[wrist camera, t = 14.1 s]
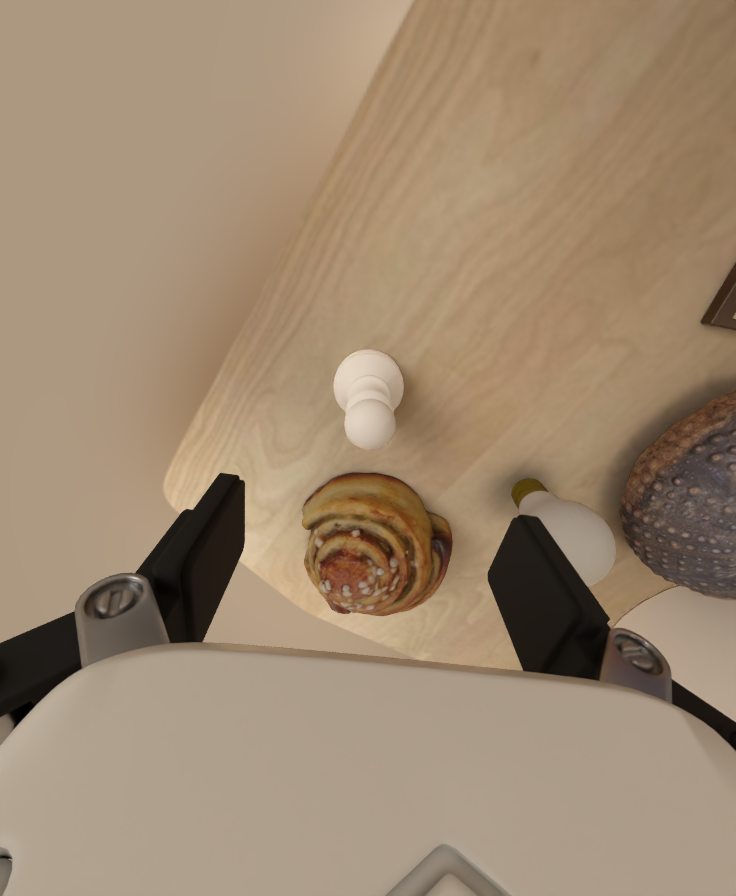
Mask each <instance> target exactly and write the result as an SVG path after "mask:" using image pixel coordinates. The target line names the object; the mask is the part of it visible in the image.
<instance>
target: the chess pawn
mask: <svg viewBox="0 0 736 896" xmlns="http://www.w3.org/2000/svg"><path fill="white" fill-rule="evenodd" d="M333 390H334V395H335V399H336V401H337V403H338V405H339V406H340V408H341V409H342V410H343V411H344V412H345V414H346V417H345V423H344V427H345V432H346V435H347V437H348V438H349V440H350V441H351V442H352V443H353V444H354V445H355V446H357V447H359V448H361V449H364V450H376V449H379V448H381V447H383V446H385V445H386V444H387V443H388V442H389V441H390V440H391V439H392V437H393V434H394V432H395V427H396V423H395V417H394V410H395V409H396V408H397V406H398V405H399V403H400V401H401V399H402V397H403V391H404V383H403V377H402V374H401V372H400V369H399V367H398V365H397V364H396V363H395V361H394V360H393V359H392V358H391V357H390V356H388V355H387V354H386V353H383V352H381V351H378V350H372V349H365V350H359V351H356V352H354V353H352V354H350V355H349V356H348V357H346V358H345V359H344V360H343V361H342V363H341V364H340V366H339V367H338V370H337V373H336V375H335V379H334V389H333Z"/></svg>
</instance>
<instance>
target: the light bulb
mask: <svg viewBox="0 0 736 896" xmlns="http://www.w3.org/2000/svg"><path fill="white" fill-rule="evenodd" d="M511 496H512V498H513V500H514V502H515V504H516V506H517V507H518V509H519V515H521V514H523V515H530V516H536V517H538V518H539V519H540V520H541V521H542V523H543V524H544V526H545V527H546V528H547V530H548V531H549V533H550V534H551V536H552V537H553V538H554V540H555V541H556V543H557V544H558V546H559V547H560V548H561V550H562V551H563V553H564V554H565V556H566V557H567V558H568V560H569V561H570V563H571V564H572V566H573V567H574V568H575V570H576V571H577V573H578V574H579V576H580V577H581V578H582V580H583V581H584V583H585V584H586V586H587V587H588V586H591V585H594V584H596V583H598V582H599V581H601V580H602V579H603V578H604V577H605V576H606V575H607V574H608V573H609V572H610V570H611V569H612V567H613V564H614V562H615V557H616V544H615V540H614V536H613V534H612V532H611V530H610V528H609V526H608V525H607V523H606V522H605V521H604V520H603V519H602V518H601V517H600V516H599V515H598V514H597V513H596V512H594V511H593V510H591V509H590V508H588V507H586V506H584V505H582V504H580V503H576V502H573V501H568V500H562V499H560V498H558V497H557V496H555V495H554V494H552V493H550V492H549V491H547V489H546V488H545V487H544V486H543V485H542V484H541V483H540V482H539V481H538V480H536V479H531V478H528V479H524V480H521V481H519V482H518V483H517V484H515V486H514V487H513V489H512V492H511Z"/></svg>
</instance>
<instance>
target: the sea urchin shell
mask: <svg viewBox="0 0 736 896" xmlns="http://www.w3.org/2000/svg"><path fill="white" fill-rule="evenodd" d="M621 497H622V501H621V502H620V510H619V511H620V516H621V518H622V527H623V530H624V532H625V538H626V541H627V542H628V543H629V546H630V547H631V548H632V549H633V550H634V553H635V555H637V556H638V557H639V558H640V559H641V561H642V562H643V563H644V564H645V565H646V566H648V567H649V568H651V570H652V571H653V572H654V574H656V575H660V576H662V577H663V578H664V579H665V580H666V581H670V582H674V583H676V584H679V585H680V586H681V587H687V588H689V589H690V590H692V591H695V592H699V593H701V594H703V595H704V596H707V597H712V598H717V599H722V600H736V390H735V391H734V392H733V393H731V394H727V395H725V396H723V397H719V398H715V399H713V400H711V401H710V402H709V403H708V404H707V405H706V406H704V407H703V408H702V409H700V410H698V411H697V412H695V413H693V414H691V415H689V416H687V417H685V418H683V419H681V420H680V421H679V422H677V423H675V424H673V425H672V426H671V427H670V428H669V429H668V430H667V431H666V432H665V433H664V434H663V435H661V437H660V438H659V439H658V440H657V441H655V442H654V443H653V444H652V445H651V446H649V447H648V448H647V449H646V450H644V451H643V453H642V454H641V455H640V457H639V458H638V460H637V461H636V462H635V464H634V468H633V470H632V471H631V473H630V477H629V481H628V483H627V485H626V487H625V489H624V490H623V492H622V494H621Z"/></svg>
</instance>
